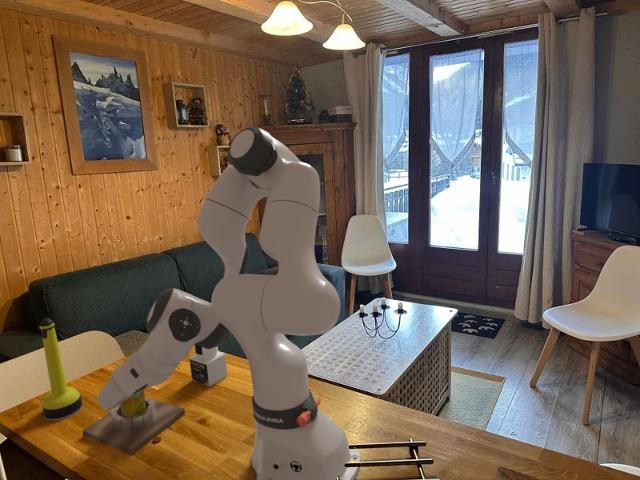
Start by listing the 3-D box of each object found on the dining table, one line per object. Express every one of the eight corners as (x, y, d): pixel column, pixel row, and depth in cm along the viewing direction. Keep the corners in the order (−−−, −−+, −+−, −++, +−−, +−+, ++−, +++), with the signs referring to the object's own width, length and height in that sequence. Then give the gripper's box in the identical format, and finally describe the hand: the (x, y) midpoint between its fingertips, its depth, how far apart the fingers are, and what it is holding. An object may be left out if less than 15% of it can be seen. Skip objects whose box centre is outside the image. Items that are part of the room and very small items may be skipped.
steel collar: (164, 413, 109) (162, 401, 108) (132, 436, 101) (130, 424, 100) (137, 404, 113) (135, 393, 112) (104, 425, 105) (102, 414, 104)
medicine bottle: (191, 381, 126) (186, 341, 124) (210, 370, 132) (206, 331, 129) (208, 387, 122) (204, 346, 120) (228, 376, 128) (224, 336, 125)
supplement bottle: (138, 423, 104) (132, 385, 102) (117, 421, 105) (111, 383, 103) (151, 409, 109) (145, 372, 107) (131, 408, 110) (125, 371, 108)
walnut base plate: (185, 414, 110) (184, 408, 110) (131, 455, 97) (130, 448, 96) (139, 400, 118) (138, 395, 117) (83, 436, 104) (82, 430, 104)
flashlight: (60, 322, 107) (70, 309, 115) (18, 327, 105) (31, 314, 113) (78, 416, 112) (86, 397, 120) (38, 423, 110) (49, 403, 118)
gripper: (179, 334, 109) (156, 363, 115) (105, 373, 91) (83, 406, 98) (195, 354, 108) (171, 383, 114) (124, 398, 90) (99, 429, 97)
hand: (129, 394), depth 106 cm, fingers closed on supplement bottle, 5 cm apart
